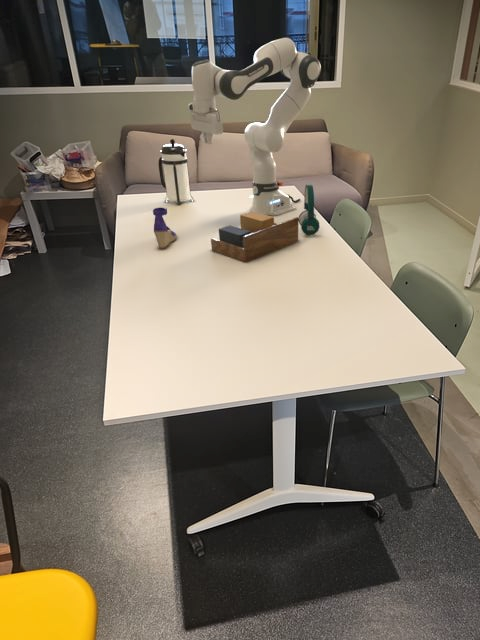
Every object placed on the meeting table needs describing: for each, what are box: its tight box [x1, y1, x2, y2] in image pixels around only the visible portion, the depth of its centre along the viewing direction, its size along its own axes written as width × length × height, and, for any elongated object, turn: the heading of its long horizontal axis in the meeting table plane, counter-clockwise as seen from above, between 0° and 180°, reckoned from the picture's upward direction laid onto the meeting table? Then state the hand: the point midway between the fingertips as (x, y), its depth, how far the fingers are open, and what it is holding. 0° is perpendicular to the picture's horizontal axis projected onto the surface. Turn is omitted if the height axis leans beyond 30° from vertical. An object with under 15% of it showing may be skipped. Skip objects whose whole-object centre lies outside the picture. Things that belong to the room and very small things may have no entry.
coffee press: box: [158, 138, 195, 206], centre depth 257 cm, size 17×16×30 cm
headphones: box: [298, 184, 320, 236], centre depth 220 cm, size 8×15×20 cm, turn 5°
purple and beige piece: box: [152, 207, 177, 250], centre depth 210 cm, size 8×20×15 cm, turn 174°
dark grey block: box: [218, 225, 251, 248], centre depth 204 cm, size 20×7×8 cm, turn 50°
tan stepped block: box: [239, 210, 275, 233], centre depth 213 cm, size 20×8×10 cm, turn 48°
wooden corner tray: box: [210, 216, 299, 263], centre depth 208 cm, size 20×32×10 cm, turn 140°
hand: (208, 143), depth 216 cm, fingers closed
